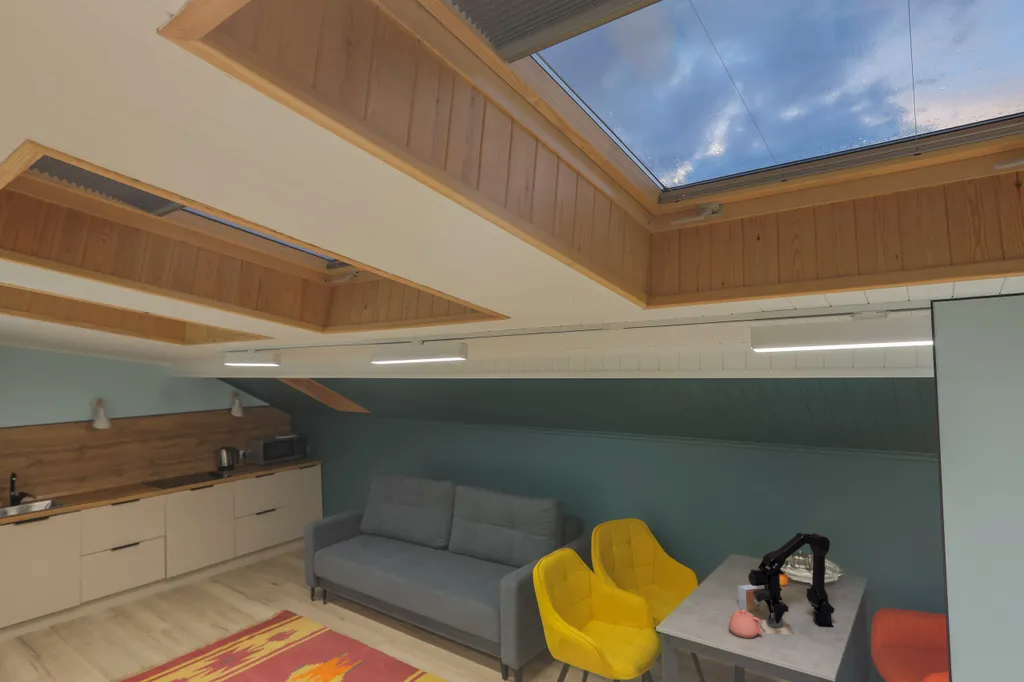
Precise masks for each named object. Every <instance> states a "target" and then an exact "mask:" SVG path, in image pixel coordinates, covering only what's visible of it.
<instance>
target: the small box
mask: <svg viewBox="0 0 1024 682" xmlns="http://www.w3.org/2000/svg"><path fill="white" fill-rule="evenodd" d="M737 587H738V590H737V591H738V608H740V610H741V609H743V610H746V611H747V612H749V613H750V612H754V611H755V612H757V611H760V610H761V607H760V606H761V602H757V600H756V599H755V597H754V594H753V591H756V590H759V589H760V588H759V586H752V585H751V584H750V583H749V584H744V585H738V586H737Z"/></svg>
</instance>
